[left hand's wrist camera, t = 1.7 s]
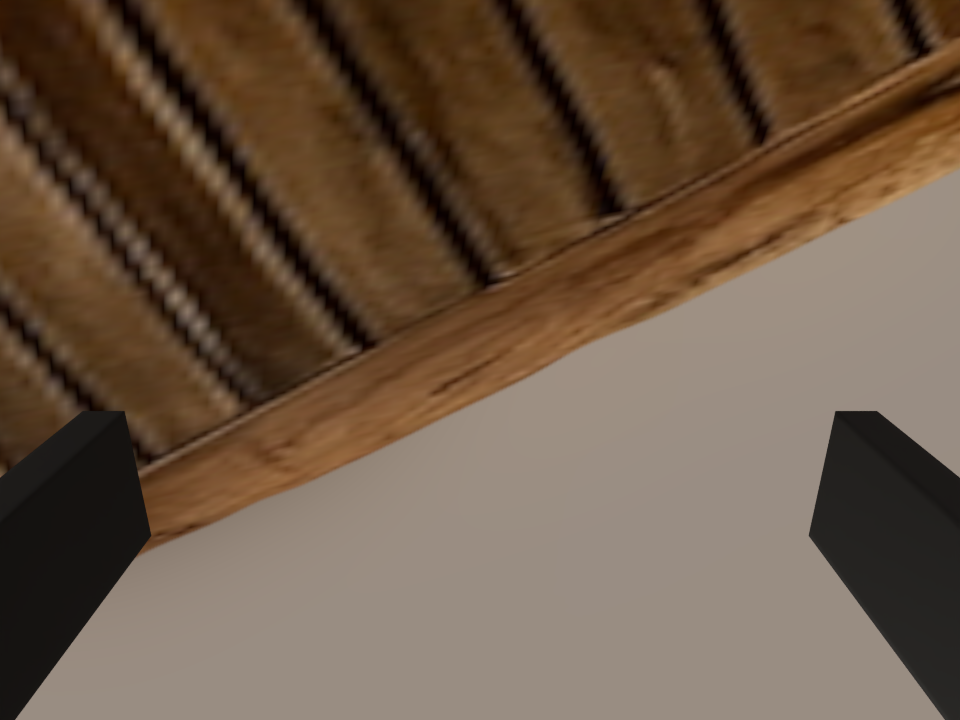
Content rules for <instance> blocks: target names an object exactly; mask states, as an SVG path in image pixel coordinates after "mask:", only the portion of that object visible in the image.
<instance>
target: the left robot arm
mask: <svg viewBox="0 0 960 720" xmlns="http://www.w3.org/2000/svg"><path fill="white" fill-rule="evenodd" d="M150 537H151V532H150V527H149V523H148V518H147V513H146V509H145V504H144V500H143V495H142V490H141V486H140V481H139V476H138V472H137V467H136V462H135V458H134V453H133V448H132V444H131V439H130V435H129V430H128V425H127V421H126V416H125V411H83V412H81V413H80V414H79V415H78V416H76V417H75V418H74V419H73V420H71V421H70V422H69V423H68V424H66V425H65V426H64V427H63V428H61V429H60V430H59V431H58V432H56V433H55V434H54V435H53V436H51V437H50V438H49V439H48V440H47V441H45V442H44V443H43V444H42V445H40V446H39V447H38V448H37V449H35V450H34V451H33V452H32V453H30V454H29V455H28V456H27V457H25V458H24V459H23V460H22V461H20V462H19V463H18V464H17V465H15V466H14V467H13V468H12V469H10V470H9V471H8V472H7V473H6V474H4V475H3V476H2V477H1V478H0V720H15V719H16V718H17V716H18V715H19V714H20V712H21V711H22V710H23V708H24V707H25V706H26V704H27V703H28V702H29V700H30V699H31V697H32V696H33V695H34V693H35V692H36V691H37V689H38V688H39V687H40V685H41V684H42V683H43V681H44V680H45V679H46V677H47V676H48V674H49V673H50V672H51V670H52V669H53V668H54V666H55V665H56V664H57V662H58V661H59V660H60V658H61V657H62V656H63V654H64V653H65V651H66V650H67V649H68V647H69V646H70V645H71V643H72V642H73V641H74V639H75V638H76V637H77V635H78V634H79V633H80V631H81V630H82V628H83V627H84V626H85V625H86V623H87V622H88V620H89V619H90V618H91V616H92V615H93V614H94V612H95V611H96V610H97V608H98V607H99V606H100V604H101V603H102V602H103V600H104V599H105V597H106V596H107V595H108V593H109V592H110V591H111V589H112V588H113V587H114V585H115V584H116V583H117V581H118V580H119V579H120V577H121V576H122V575H123V573H124V572H125V570H126V569H127V568H128V566H129V565H130V564H131V562H132V561H133V560H134V558H135V557H136V556H137V554H138V553H139V552H140V550H141V549H142V547H143V546H144V545H145V543H146V542H147V541H148V539H149V538H150ZM809 537H810V538H811V539H812V541H813V542H814V543H815V545H816V546H817V547H818V549H819V550H820V552H821V553H822V554H823V555H824V557H825V558H826V560H827V561H828V562H829V564H830V565H831V566H832V568H833V569H834V570H835V572H836V573H837V574H838V576H839V577H840V578H841V580H842V581H843V583H844V584H845V585H846V587H847V588H848V589H849V591H850V592H851V593H852V595H853V596H854V597H855V599H856V600H857V602H858V603H859V604H860V606H861V607H862V608H863V610H864V611H865V612H866V614H867V615H868V616H869V618H870V619H871V620H872V622H873V623H874V624H875V626H876V627H877V629H878V630H879V631H880V633H881V634H882V635H883V637H884V638H885V639H886V641H887V642H888V643H889V645H890V646H891V647H892V649H893V650H894V652H895V653H896V654H897V656H898V657H899V658H900V660H901V661H902V662H903V664H904V665H905V666H906V668H907V669H908V670H909V672H910V673H911V674H912V676H913V677H914V679H915V680H916V681H917V683H918V684H919V685H920V687H921V688H922V689H923V691H924V692H925V693H926V695H927V696H928V697H929V699H930V700H931V702H932V703H933V704H934V705H935V707H936V708H937V710H938V711H939V712H940V714H941V715H942V716H943V718H944V719H945V720H960V478H959V477H958V476H957V475H956V474H954V473H953V472H952V471H951V470H949V469H948V468H947V467H946V466H945V465H943V464H942V463H941V462H940V461H938V460H937V459H936V458H935V457H933V456H932V455H931V454H930V453H928V452H927V451H926V450H925V449H923V448H922V447H921V446H920V445H918V444H917V443H916V442H915V441H913V440H912V439H911V438H910V437H908V436H907V435H906V434H905V433H904V432H902V431H901V430H900V429H899V428H897V427H896V426H895V425H894V424H892V423H891V422H890V421H889V420H887V419H886V418H885V417H884V416H882V415H881V414H880V413H879V412H877V411H836V412H835V416H834V421H833V425H832V430H831V435H830V439H829V444H828V448H827V453H826V458H825V462H824V467H823V472H822V476H821V481H820V486H819V490H818V495H817V500H816V504H815V509H814V513H813V518H812V523H811V527H810V532H809Z"/></svg>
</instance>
